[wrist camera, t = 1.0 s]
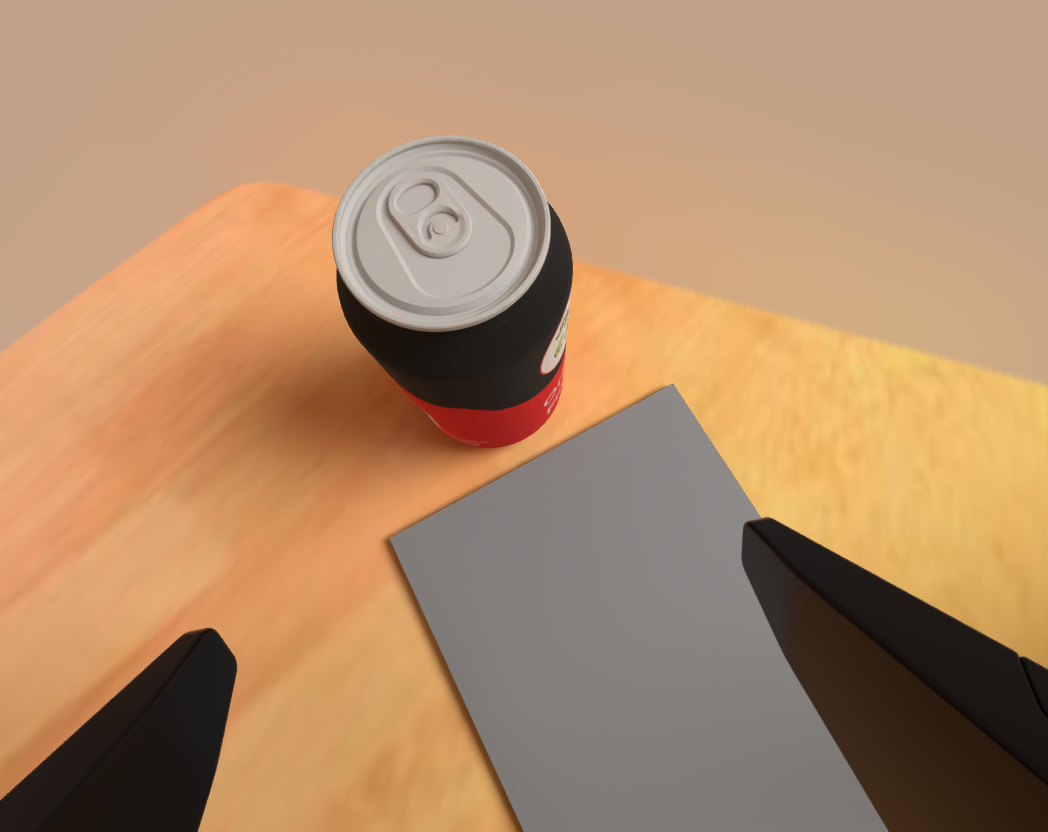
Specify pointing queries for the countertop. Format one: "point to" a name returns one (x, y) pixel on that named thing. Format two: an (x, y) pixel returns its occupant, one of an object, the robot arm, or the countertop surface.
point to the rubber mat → (626, 642)
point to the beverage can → (458, 284)
